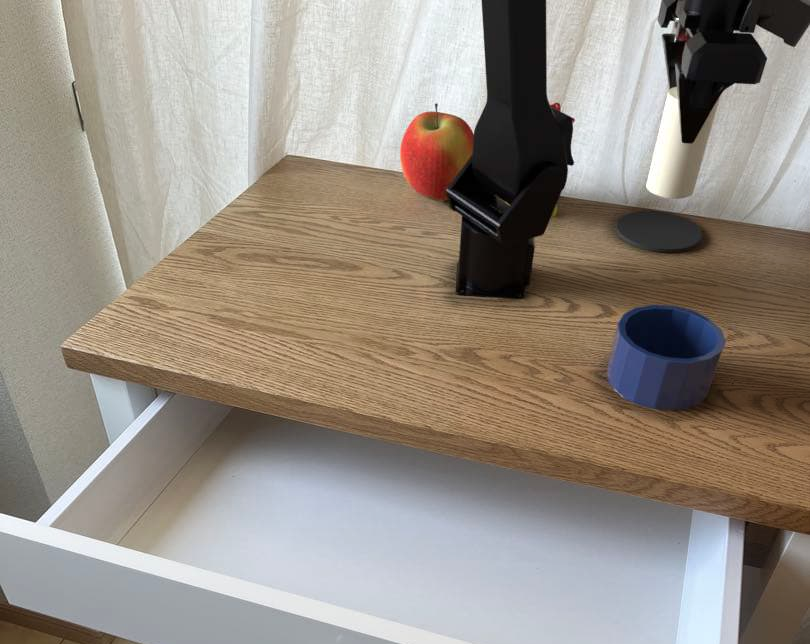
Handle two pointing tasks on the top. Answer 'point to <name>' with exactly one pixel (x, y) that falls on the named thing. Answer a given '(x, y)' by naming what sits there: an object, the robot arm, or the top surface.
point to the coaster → (658, 231)
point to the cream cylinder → (677, 154)
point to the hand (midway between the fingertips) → (682, 132)
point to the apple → (435, 152)
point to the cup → (664, 357)
